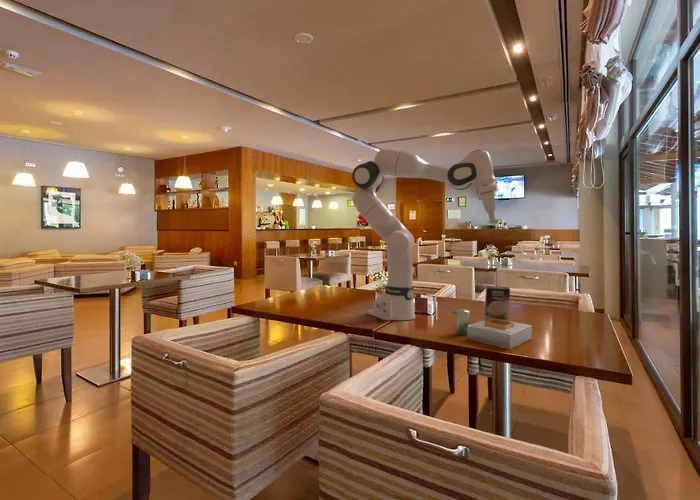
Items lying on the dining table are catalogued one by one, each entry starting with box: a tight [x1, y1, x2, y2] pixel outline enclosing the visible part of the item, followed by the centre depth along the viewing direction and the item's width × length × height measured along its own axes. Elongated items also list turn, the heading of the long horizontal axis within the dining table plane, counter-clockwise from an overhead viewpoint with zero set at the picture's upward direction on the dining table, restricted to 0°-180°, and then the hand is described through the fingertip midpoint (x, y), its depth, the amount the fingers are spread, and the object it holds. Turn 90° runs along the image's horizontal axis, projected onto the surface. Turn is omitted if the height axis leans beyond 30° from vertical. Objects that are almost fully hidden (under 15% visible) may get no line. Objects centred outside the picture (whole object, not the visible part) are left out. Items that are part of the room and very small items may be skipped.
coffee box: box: [483, 285, 511, 321], centre depth 159 cm, size 9×6×16 cm
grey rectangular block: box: [466, 317, 533, 350], centre depth 141 cm, size 16×18×6 cm
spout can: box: [452, 308, 471, 336], centre depth 148 cm, size 7×5×9 cm
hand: (493, 222), depth 156 cm, fingers open, 8 cm apart
